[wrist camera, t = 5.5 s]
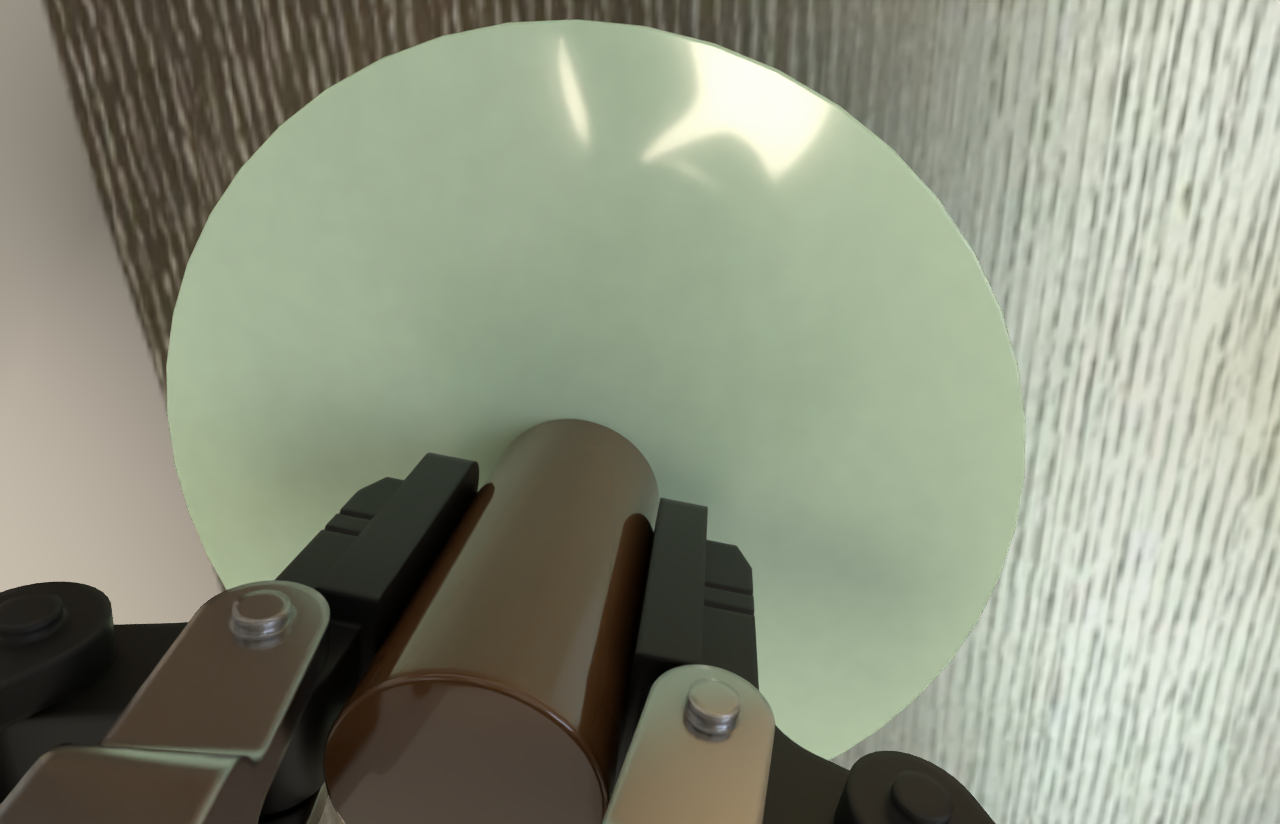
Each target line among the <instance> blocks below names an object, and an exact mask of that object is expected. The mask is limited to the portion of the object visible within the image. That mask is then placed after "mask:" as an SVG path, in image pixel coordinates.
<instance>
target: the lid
mask: <svg viewBox="0 0 1280 824" xmlns="http://www.w3.org/2000/svg"><path fill="white" fill-rule="evenodd" d="M166 367H167V417H168V424H169V430H170V437H171V444H172V450H173V457H174V464H175V467H176V471H177V474H178V478H179V481H180V485H181V488H182V492H183V495H184V499H185V502H186V506H187V509H188V512H189V514H190V517H191V519H192V521H193V524H194V526H195V528H196V531H197V533H198V536H199V538H200V540H201V543H202V545H203V547H204V549H205V552H206V554H207V556H208V558H209V560H210V562H211V563H212V565H213V567H214V569H215V570H216V572H217V574H218V576H219V577H220V579H221V581H222V583H223V584H224V586H225V588H226V590H228V589H231V588H234V587H237V586H240V585H243V584H248V583H252V582H259V581H271V580H275V579H276V578H277V577H278V576H279V575H280V574H281V572H282V571H283V570H284V569H285V568H286V567H287V566H288V565H289V564H290V563H291V562H292V561H293V560H294V559H295V557H296V556H297V555H298V554H299V553H300V552H301V551H302V550H303V549H304V548H305V547H306V546H307V545H308V544H309V542H310V541H311V540H312V539H313V538H314V537H315V536H316V535H317V534H318V533H319V532H320V531H321V530H324V529H325V525H326V524H327V523H328V522H329V521H330V520H331V519H332V518H333V517H334V516H335V515H336V514H337V513H338V514H339V513H340V509H341V508H342V507H343V506H344V505H345V504H346V503H347V502H348V501H349V500H350V499H351V497H352V496H353V495H354V494H355V493H356V492H357V491H358V490H360V489H362V488H364V487H366V486H369V485H371V484H373V483H375V482H377V481H379V480H381V479H383V478H385V477H390V478H395V479H400V480H405V479H406V477H407V476H408V475H409V474H410V473H411V472H412V470H413V469H414V468H415V467H416V466H417V464H418V463H419V462H420V461H421V460H422V458H423V457H424V456H425V455H426V454H427V453H429V452H431V453H436V454H441V455H446V456H452V457H457V458H462V459H467V460H472V461H476V462H478V465H479V483H478V493H477V494H476V496H475V497H474V499H473V501H472V502H471V504H470V505H469V507H468V508H467V510H466V512H465V513H464V515H463V516H462V518H461V520H460V521H459V523H458V524H457V526H456V528H455V529H454V531H453V532H452V534H451V536H450V537H449V539H448V540H447V542H446V543H445V545H444V547H443V548H442V550H441V551H440V553H439V555H438V556H437V558H436V559H435V561H434V563H433V564H432V566H431V567H430V569H429V570H428V572H427V574H426V575H425V577H424V578H423V580H422V582H421V583H420V585H419V586H418V588H417V590H416V591H415V593H414V594H413V596H412V598H411V599H410V601H409V602H408V604H407V605H406V607H405V609H404V610H403V612H402V613H401V615H400V617H399V618H398V620H397V621H396V623H395V625H394V626H393V628H392V629H391V631H390V632H389V634H388V636H387V637H386V639H385V640H384V642H383V644H382V645H381V647H380V648H379V650H378V652H377V653H376V655H375V656H374V658H373V660H372V661H371V663H370V664H369V666H368V667H367V669H366V671H365V672H364V674H363V675H362V677H361V679H360V680H359V682H358V683H357V685H356V687H355V688H354V690H353V691H352V693H351V694H350V696H349V698H348V699H347V701H346V702H345V704H344V706H343V707H342V709H341V710H340V712H339V714H338V715H337V717H336V718H335V720H334V722H333V724H332V726H331V728H330V730H329V732H328V735H327V739H326V742H325V746H324V756H323V773H324V780H325V784H326V788H327V792H328V795H329V797H330V799H331V802H332V804H333V806H334V808H335V810H336V812H337V813H338V815H339V817H340V818H341V820H342V821H343V823H344V824H602V821H603V818H604V816H605V813H606V810H607V807H608V805H609V802H610V799H611V796H612V794H613V789H614V783H615V777H616V771H617V765H618V758H619V752H620V746H621V740H622V734H623V725H624V708H625V702H626V696H627V690H628V684H629V678H630V672H631V666H632V660H633V654H634V647H635V641H636V635H637V629H638V623H639V617H640V611H641V605H642V599H643V593H644V587H645V581H646V575H647V569H648V563H649V557H650V551H651V545H652V538H653V532H654V527H655V522H656V517H657V512H658V507H659V502H660V498H666V499H671V500H677V501H682V502H687V503H692V504H697V505H702V506H707V507H708V516H707V540H711V541H716V542H721V543H726V544H731V545H736V546H737V547H738V548H739V550H740V551H741V552H742V554H743V555H744V557H745V558H746V560H747V561H748V563H749V564H750V566H751V567H752V576H753V596H754V616H755V628H756V646H757V663H758V681H759V691H760V693H761V694H762V695H763V696H764V697H765V699H766V700H767V702H768V703H769V705H770V707H771V709H772V712H773V715H774V719H775V725H776V726H777V727H778V728H779V729H780V730H781V731H782V732H783V733H784V734H785V735H786V736H787V737H789V738H790V739H791V740H792V741H794V742H795V743H797V744H798V745H800V746H801V747H803V748H804V749H806V750H808V751H810V752H812V753H814V754H815V755H818V756H820V757H822V758H824V759H826V760H830V759H832V758H834V757H836V756H838V755H840V754H842V753H844V752H845V751H847V750H848V749H850V748H851V747H853V746H855V745H856V744H858V743H859V742H861V741H862V740H864V739H865V738H867V737H868V736H870V735H871V734H873V733H874V732H876V731H878V730H879V729H881V728H882V727H883V726H884V725H885V724H887V723H888V722H889V721H890V720H891V719H893V718H894V717H895V716H896V715H897V714H898V713H900V712H901V711H902V710H903V709H904V708H906V707H907V706H908V705H909V704H910V703H912V702H913V701H914V700H915V699H916V698H917V697H918V696H919V695H920V694H921V693H922V692H923V691H924V690H925V689H926V688H927V686H928V685H929V684H930V683H931V682H932V681H933V680H934V679H935V678H936V677H937V675H938V674H939V673H940V672H941V671H942V670H943V669H944V668H945V667H946V666H947V665H948V663H949V662H950V661H951V659H952V658H953V657H954V655H955V654H956V652H957V651H958V649H959V648H960V646H961V645H962V643H963V642H964V641H965V639H966V638H967V636H968V635H969V633H970V632H971V630H972V629H973V628H974V626H975V625H976V623H977V622H978V620H979V618H980V616H981V614H982V612H983V610H984V608H985V606H986V604H987V602H988V600H989V598H990V596H991V594H992V592H993V590H994V588H995V586H996V584H997V582H998V580H999V578H1000V575H1001V572H1002V569H1003V565H1004V562H1005V559H1006V556H1007V553H1008V550H1009V547H1010V544H1011V541H1012V538H1013V535H1014V532H1015V529H1016V523H1017V517H1018V511H1019V506H1020V500H1021V494H1022V488H1023V482H1024V476H1025V414H1024V407H1023V400H1022V392H1021V385H1020V378H1019V371H1018V364H1017V361H1016V357H1015V354H1014V351H1013V347H1012V344H1011V341H1010V337H1009V334H1008V330H1007V327H1006V324H1005V320H1004V317H1003V314H1002V310H1001V307H1000V305H999V303H998V301H997V299H996V297H995V295H994V292H993V290H992V288H991V286H990V284H989V282H988V280H987V278H986V276H985V273H984V271H983V269H982V267H981V265H980V263H979V261H978V259H977V257H976V255H975V252H974V251H973V249H972V248H971V246H970V245H969V243H968V242H967V240H966V239H965V237H964V236H963V234H962V233H961V231H960V230H959V228H958V227H957V225H956V224H955V222H954V221H953V220H952V218H951V217H950V215H949V214H948V212H947V211H946V209H945V208H944V206H943V205H942V203H941V202H940V200H939V199H938V197H937V196H936V195H935V194H934V193H933V192H932V191H931V190H930V189H929V188H928V187H927V185H926V184H925V183H924V182H923V181H922V180H921V179H920V178H919V177H918V176H917V175H916V174H915V172H914V171H913V170H912V169H911V168H910V167H909V166H908V165H907V164H906V163H905V162H904V160H903V159H902V158H901V157H900V156H899V155H898V154H897V153H896V152H895V151H894V150H893V149H892V148H891V147H890V146H889V145H888V144H886V143H885V142H884V141H883V140H881V139H880V138H879V137H878V136H876V135H875V134H874V133H873V132H871V131H870V130H869V129H868V128H867V127H865V126H864V125H863V124H862V123H860V122H859V121H858V120H857V119H855V118H854V117H853V116H852V115H851V114H849V113H848V112H847V111H846V110H844V109H843V108H842V107H841V106H839V105H838V104H836V103H834V102H833V101H831V100H829V99H828V98H826V97H824V96H822V95H821V94H819V93H817V92H816V91H814V90H812V89H811V88H809V87H807V86H806V85H804V84H802V83H801V82H799V81H797V80H796V79H794V78H792V77H790V76H789V75H787V74H785V73H784V72H782V71H780V70H778V69H776V68H773V67H771V66H769V65H766V64H764V63H761V62H759V61H756V60H754V59H752V58H749V57H747V56H744V55H742V54H739V53H737V52H735V51H732V50H730V49H727V48H725V47H722V46H720V45H718V44H715V43H712V42H708V41H704V40H700V39H696V38H692V37H688V36H684V35H680V34H676V33H672V32H668V31H664V30H660V29H656V28H652V27H648V26H641V25H631V24H621V23H611V22H601V21H591V20H581V19H568V20H547V21H526V22H507V23H502V24H497V25H492V26H488V27H483V28H478V29H473V30H468V31H463V32H458V33H453V34H448V35H443V36H440V37H437V38H435V39H432V40H429V41H426V42H424V43H421V44H418V45H415V46H413V47H410V48H407V49H405V50H402V51H399V52H396V53H394V54H391V55H388V56H386V57H383V58H381V59H379V60H377V61H375V62H373V63H372V64H370V65H368V66H366V67H365V68H363V69H361V70H359V71H357V72H356V73H354V74H352V75H350V76H348V77H347V78H345V79H343V80H341V81H339V82H338V83H336V84H334V85H332V86H330V87H329V88H327V89H326V90H324V91H323V92H322V93H321V94H319V95H318V96H317V97H316V98H314V99H313V100H312V101H310V102H309V103H308V104H307V105H305V106H304V107H303V108H302V109H300V110H299V111H298V112H296V113H295V114H294V115H293V116H291V117H290V118H289V119H288V120H286V121H285V122H284V123H282V124H281V125H280V126H279V127H278V128H277V129H276V130H275V131H274V133H273V134H272V135H271V136H270V137H269V138H268V139H267V140H266V141H265V142H264V143H263V144H262V146H261V147H260V148H259V149H258V150H257V151H256V152H255V153H254V154H253V155H252V156H251V157H250V159H249V160H248V161H247V162H246V163H245V164H244V165H243V166H242V167H241V169H240V170H239V172H238V173H237V175H236V176H235V178H234V179H233V181H232V182H231V184H230V185H229V187H228V188H227V190H226V191H225V193H224V194H223V196H222V197H221V199H220V200H219V202H218V203H217V205H216V206H215V208H214V209H213V211H212V212H211V214H210V215H209V218H208V220H207V222H206V224H205V226H204V229H203V231H202V233H201V235H200V237H199V239H198V242H197V244H196V246H195V248H194V250H193V253H192V255H191V257H190V259H189V261H188V263H187V267H186V270H185V274H184V277H183V281H182V284H181V288H180V291H179V295H178V298H177V302H176V305H175V309H174V313H173V318H172V326H171V334H170V341H169V349H168V357H167V365H166Z"/></svg>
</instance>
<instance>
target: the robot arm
mask: <svg viewBox="0 0 1280 824" xmlns="http://www.w3.org/2000/svg"><path fill="white" fill-rule="evenodd" d="M478 483H479V465H478V462H476V461H472V460H467V459H462V458H457V457H452V456H446V455H441V454H436V453H431V452H429V453H427V454H426V455H425V456H424V457H423V458H422V460H421V461H420V462H419V463H418V464H417V466H416V467H415V468H414V469H413V470H412V472H411V473H410V474H409V475H408V476H407V477H406V479H405V480H400V479H395V478H390V477H385V478H383V479H381V480H379V481H377V482H375V483H373V484H371V485H369V486H366V487H364V488H362V489H360V490H358V491H357V492H356V493H355V494H354V495H353V496H352V497H351V499H350V500H349V501H348V502H347V503H346V504H345V505H344V506H343V507H342V508H341V509H340V513H339V514H338V513H337V514H336V515H335V516H334V517H333V518H332V519H331V520H330V521H329V522H328V523H327V524H326V525H325V529H324V530H321V531H320V532H319V533H318V534H317V535H316V536H315V537H314V538H313V539H312V540H311V541H310V542H309V544H308V545H307V546H306V547H305V548H304V549H303V550H302V551H301V552H300V553H299V554H298V555H297V556H296V557H295V559H294V560H293V561H292V562H291V563H290V564H289V565H288V566H287V567H286V568H285V569H284V570H283V571H282V572H281V574H280V575H279V576H278V577H277V578H276V579H275V580H271V581H259V582H252V583H248V584H243V585H240V586H237V587H234V588H231V589H228V590H226V591H224V592H222V593H220V594H218V595H216V596H215V597H213V598H211V599H210V600H208V601H207V602H206V603H205V604H203V605H202V606H201V607H200V609H199V610H198V611H197V612H196V613H195V614H194V616H193V617H192V619H191V620H190V621H189V622H185V623H164V624H129V625H128V624H126V625H114V624H113V617H112V609H111V603H110V601H109V599H108V597H107V596H106V595H105V594H104V593H103V592H102V591H100V590H98V589H96V588H94V587H91V586H89V585H85V584H80V583H73V582H45V583H36V584H31V585H25V586H21V587H17V588H13V589H10V590H6V591H4V592H1V593H0V824H319V821H320V818H321V816H322V813H323V810H324V807H325V805H326V802H327V798H328V792H327V788H326V784H325V780H324V773H323V756H324V746H325V742H326V739H327V735H328V732H329V730H330V728H331V726H332V724H333V722H334V720H335V718H336V717H337V715H338V714H339V712H340V710H341V709H342V707H343V706H344V704H345V702H346V701H347V699H348V698H349V696H350V694H351V693H352V691H353V690H354V688H355V687H356V685H357V683H358V682H359V680H360V679H361V677H362V675H363V674H364V672H365V671H366V669H367V667H368V666H369V664H370V663H371V661H372V660H373V658H374V656H375V655H376V653H377V652H378V650H379V648H380V647H381V645H382V644H383V642H384V640H385V639H386V637H387V636H388V634H389V632H390V631H391V629H392V628H393V626H394V625H395V623H396V621H397V620H398V618H399V617H400V615H401V613H402V612H403V610H404V609H405V607H406V605H407V604H408V602H409V601H410V599H411V598H412V596H413V594H414V593H415V591H416V590H417V588H418V586H419V585H420V583H421V582H422V580H423V578H424V577H425V575H426V574H427V572H428V570H429V569H430V567H431V566H432V564H433V563H434V561H435V559H436V558H437V556H438V555H439V553H440V551H441V550H442V548H443V547H444V545H445V543H446V542H447V540H448V539H449V537H450V536H451V534H452V532H453V531H454V529H455V528H456V526H457V524H458V523H459V521H460V520H461V518H462V516H463V515H464V513H465V512H466V510H467V508H468V507H469V505H470V504H471V502H472V501H473V499H474V497H475V496H476V494H477V493H478ZM707 516H708V507H707V506H702V505H697V504H692V503H687V502H682V501H677V500H671V499H666V498H660V502H659V507H658V512H657V517H656V522H655V527H654V532H653V538H652V545H651V551H650V557H649V563H648V569H647V575H646V581H645V587H644V593H643V599H642V605H641V611H640V617H639V623H638V629H637V635H636V641H635V647H634V654H633V660H632V666H631V672H630V678H629V684H628V690H627V696H626V702H625V708H624V725H623V734H622V740H621V746H620V752H619V758H618V765H617V771H616V777H615V783H614V789H613V794H612V796H611V799H610V802H609V805H608V807H607V810H606V813H605V816H604V818H603V821H602V824H995V823H994V821H993V820H992V819H991V818H990V816H989V815H988V814H987V813H986V811H985V810H984V809H983V808H982V807H981V805H980V804H979V803H978V802H977V800H976V799H975V798H974V797H973V796H972V794H971V793H970V792H969V791H968V790H967V789H966V788H965V787H964V786H963V785H962V784H961V783H960V782H959V781H958V780H956V779H955V778H954V777H953V776H951V775H950V774H949V773H947V772H946V771H944V770H943V769H941V768H940V767H938V766H936V765H934V764H933V763H931V762H929V761H926V760H924V759H922V758H920V757H917V756H914V755H911V754H907V753H902V752H897V751H879V752H874V753H870V754H867V755H865V756H863V757H862V758H860V759H859V760H858V761H857V762H856V763H854V765H853V767H852V768H851V770H850V771H849V770H847V769H845V768H843V767H841V766H839V765H837V764H834V763H832V762H830V761H828V760H826V759H824V758H822V757H820V756H818V755H815V754H814V753H812V752H810V751H808V750H806V749H804V748H803V747H801V746H800V745H798V744H797V743H795V742H794V741H792V740H791V739H790V738H789V737H787V736H786V735H785V734H784V733H783V732H782V731H781V730H780V729H779V728H778V727H777V726H776V725H775V719H774V715H773V712H772V709H771V707H770V705H769V703H768V702H767V700H766V699H765V697H764V696H763V695H762V694H761V693H760V691H759V681H758V663H757V646H756V628H755V616H754V596H753V576H752V567H751V566H750V564H749V563H748V561H747V560H746V558H745V557H744V555H743V554H742V552H741V551H740V550H739V548H738V547H737V546H736V545H731V544H726V543H721V542H716V541H711V540H707Z"/></svg>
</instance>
